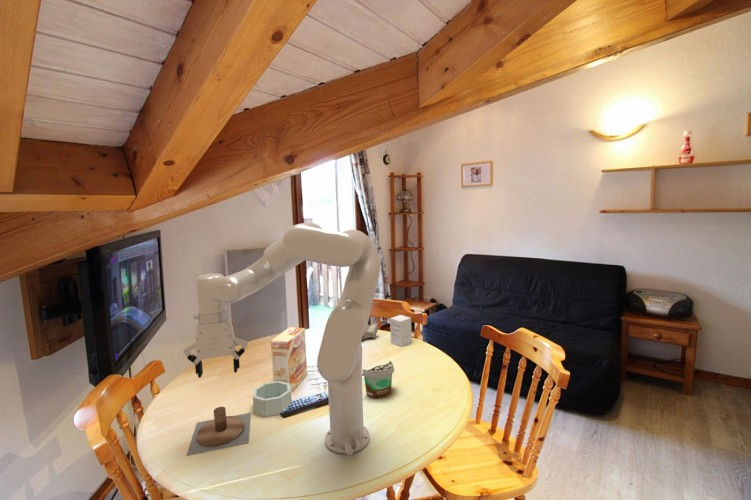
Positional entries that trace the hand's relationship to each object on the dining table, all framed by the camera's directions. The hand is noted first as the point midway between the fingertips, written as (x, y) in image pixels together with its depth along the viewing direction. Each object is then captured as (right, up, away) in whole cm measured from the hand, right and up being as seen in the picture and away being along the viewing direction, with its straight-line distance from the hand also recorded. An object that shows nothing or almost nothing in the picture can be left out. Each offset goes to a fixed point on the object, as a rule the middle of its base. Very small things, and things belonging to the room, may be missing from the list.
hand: (218, 373), depth 106 cm
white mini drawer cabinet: (+59, -9, +67) cm, 90 cm away
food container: (+49, -15, +21) cm, 55 cm away
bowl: (+12, -17, +15) cm, 25 cm away
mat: (0, -19, +1) cm, 19 cm away
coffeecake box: (+14, -15, +31) cm, 38 cm away
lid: (0, -18, +1) cm, 18 cm away
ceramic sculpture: (+40, -9, +75) cm, 85 cm away
